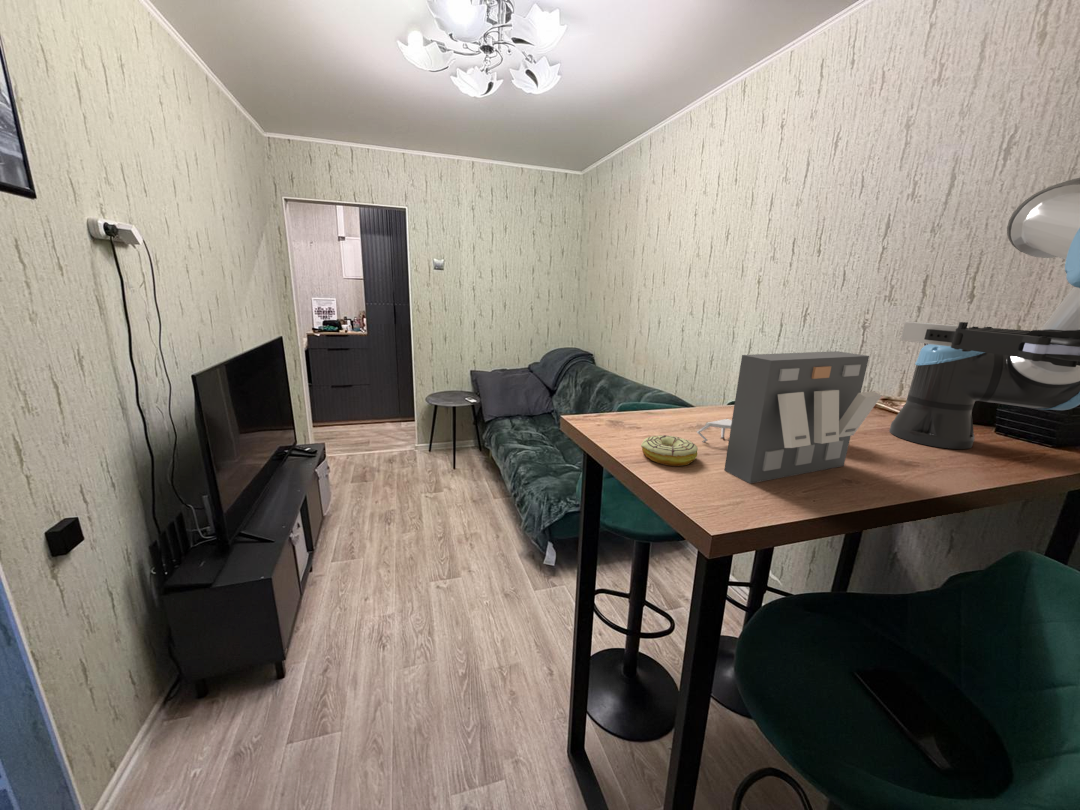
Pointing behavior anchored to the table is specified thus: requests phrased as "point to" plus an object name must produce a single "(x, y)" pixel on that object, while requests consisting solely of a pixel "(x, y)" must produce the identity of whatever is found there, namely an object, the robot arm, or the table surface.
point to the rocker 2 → (857, 412)
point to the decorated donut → (669, 450)
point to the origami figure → (721, 424)
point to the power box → (758, 413)
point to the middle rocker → (826, 416)
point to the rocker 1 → (794, 420)
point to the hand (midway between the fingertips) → (905, 331)
